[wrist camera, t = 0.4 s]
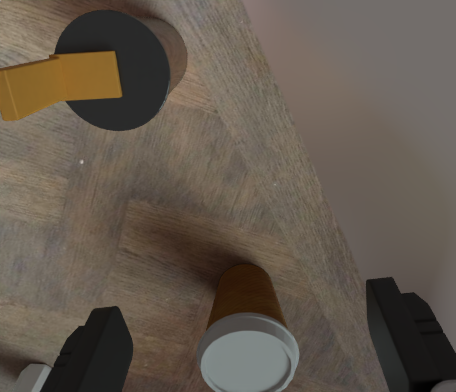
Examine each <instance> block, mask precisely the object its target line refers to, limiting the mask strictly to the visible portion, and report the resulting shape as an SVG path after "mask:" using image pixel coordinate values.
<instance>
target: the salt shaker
mask: <svg viewBox="0 0 456 392" xmlns="http://www.w3.org/2000/svg"><path fill="white" fill-rule="evenodd" d="M51 369H52V368H51V367H49V366H48V365H46V364H30V365H28V366H27V367H26V368H25V369H24V370H23V371H22V372H21V373H20V375H19V377H18V379H17V381H16V384H15V386H14V388H13V390H12V392H40V390H41V388H42V386H43V384H44V382H45V380H46V378H47V377H48V375H49V373H50V371H51Z"/></svg>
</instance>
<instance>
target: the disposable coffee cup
mask: <svg viewBox="0 0 456 392" xmlns="http://www.w3.org/2000/svg"><path fill="white" fill-rule="evenodd" d="M298 360H299V350H298V345H297V343H296V341H295V339H294V337H293V335H292V334H291V332H289V331H288V328H287V325H286V322H285V319H284V316H283V314H282V311H281V308H280V305H279V302H278V299H277V297H276V294H275V291H274V287H273V285H272V281H271V279H270V277H269V275H268V274H267V273H266V272H265V271H264V270H263V269H261V268H260V267H257V266H254V265H250V264H242V265H237V266H234V267H232V268H230V269H228V270H227V271H226V272H225V273H224V274H223V275H222V276H221V278H220V281H219V285H218V289H217V292H216V296H215V299H214V303H213V307H212V310H211V314H210V317H209V321H208V325H207V328H206V332H205V333H204V335H203V336H202V338H201V339H200V341H199V344H198V348H197V362H198V365H199V368H200V370H201V372H202V376H203V378H204V380H205V381H206V383H207V384H208V385H209V386H210V387H211V388H212V389H213V390H215V391H216V392H280V391H282V390H283V389H284V388H286V387H287V385H288V384H289V383H290V381H291V380H292V378H293V376H294V372H295V369H296V367H297V364H298Z"/></svg>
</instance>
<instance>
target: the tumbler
mask: <svg viewBox="0 0 456 392" xmlns="http://www.w3.org/2000/svg"><path fill="white" fill-rule="evenodd" d="M113 50H114V51H115V54H116V60H117V66H118V72H119V78H120V84H121V91H122V97H120V98H104V99H86V100H69V101H66V103H67V104H68V105H69V107H70V108H71V109H72V110H73V111H74V112H75V113H76V114H77V115H78V116H80V117H81V118H82V119H84V120H85V121H87V122H88V123H90V124H92V125H94V126H97V127H99V128H102V129H106V130H112V131H125V130H131V129H135V128H137V127H140V126H142V125H144V124H146V123H147V122H149V121H150V120H151V119H152V118H154V117H155V115H156V114H157V113H158V112H159V111H160V110H161V108H162V107H163V105H164V103H165V101H166V99H167V97H168V94H169V93H170V92H171V91H172V90H173V89H174V88H175V87H176V86H177V85H178V84H179V82H180V81H181V80H182V78H183V76H184V74H185V71H186V68H187V60H188V59H187V50H186V46H185V43H184V41H183V39H182V37H181V36H180V34H179V33H178V31H177V30H176V29H175V28H174V27H173V26H171V25H170V24H169V23H167V22H165V21H163V20H161V19H158V18H154V17H138V16H131V15H129V14H127V13H123V12H120V11H114V10H97V11H92V12H89V13H85V14H83V15H81V16H79V17H78V18H76V19H75V20H73V21H72V22H71V23H70V24H69V25H68V26H67V27H66V28H65V30H64V31H63V32H62V34H61V36H60V38H59V39H58V42H57V45H56V48H55V52H54V54H66V53H81V52H97V51H113Z"/></svg>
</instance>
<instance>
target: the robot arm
mask: <svg viewBox="0 0 456 392" xmlns="http://www.w3.org/2000/svg"><path fill="white" fill-rule="evenodd" d="M366 300H367V321H368V327H369V331H370V335H371V338H372V341H373V344H374V347H375V350H376V353H377V356H378V359H379V362H380V365H381V367H382V370H383V373H384V376H385V379H386V382H387V385H388V388H389V391H390V392H456V353H455V351H454V349H453V348H452V346H451V344H450V342H449V341H448V339H447V337H446V335H445V334H444V333H443V330H442V328H441V326H440V324H439V323H438V321H437V320H436V317H435V315H434V314H433V312H432V310H431V308H430V306H429V305H428V304H427V303H426V302H425V301H424V300H423V299H421V298H420V297H419V296H418V295H416V294H415V293H414V292H413V293H404V294H401V293H400V291H399V289H398V287H397V285H396V283H395V281H394V279H393V278H392V277H387V278H378V279H369V280H367V281H366ZM132 356H133V342H132V338H131V335H130V333H129V331H128V328H127V326H126V323H125V321H124V318H123V316H122V313H121V311H120V309H119V308H118V307H117V306H113V307H104V308H95V309H93V310H92V312H91V313H90V316H89V318H88V320H87V322H86V324H85V326H79V327H78V328H77V329H76V330H75V331H74V332H73V333H72V334H71V335H70V336H69V337H68V338H67V340H66V342H65V344H64V346H63V348H62V349H61V351H60V356H58V357H57V359H56V361H55V363H54V367H53V368H52V369H51V371H50V373H49V375H48V377H47V378H46V380H45V382H44V384H43V386H42V388H41V390H40V392H122V388H123V385H124V382H125V379H126V376H127V373H128V369H129V366H130V363H131V360H132Z"/></svg>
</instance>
